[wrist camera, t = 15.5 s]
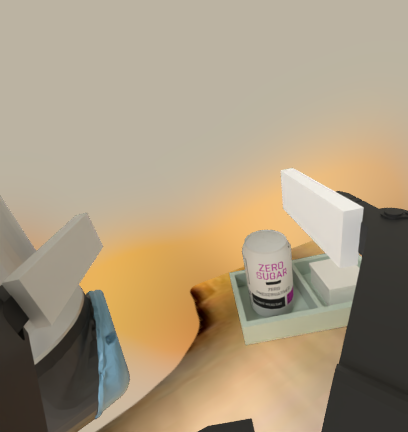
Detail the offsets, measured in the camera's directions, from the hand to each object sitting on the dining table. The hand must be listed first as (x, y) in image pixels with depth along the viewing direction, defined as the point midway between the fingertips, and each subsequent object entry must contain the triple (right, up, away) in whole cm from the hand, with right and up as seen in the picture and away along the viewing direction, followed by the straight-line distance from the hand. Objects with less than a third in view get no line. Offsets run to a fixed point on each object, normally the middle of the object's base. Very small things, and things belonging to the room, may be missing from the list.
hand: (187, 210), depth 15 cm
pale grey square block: (+27, -15, +29) cm, 43 cm away
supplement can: (+15, -18, +30) cm, 38 cm away
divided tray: (+21, -17, +30) cm, 40 cm away
